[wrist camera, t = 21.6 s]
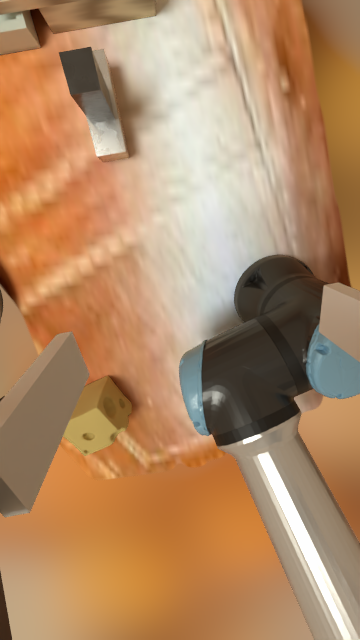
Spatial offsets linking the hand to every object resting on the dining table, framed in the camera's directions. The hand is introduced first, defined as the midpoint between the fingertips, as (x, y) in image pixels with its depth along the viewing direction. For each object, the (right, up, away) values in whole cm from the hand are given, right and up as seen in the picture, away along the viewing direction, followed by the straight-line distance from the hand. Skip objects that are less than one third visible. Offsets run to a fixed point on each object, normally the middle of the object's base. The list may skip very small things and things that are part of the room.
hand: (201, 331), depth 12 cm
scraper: (-12, +29, +21) cm, 38 cm away
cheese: (-19, -17, +42) cm, 49 cm away
